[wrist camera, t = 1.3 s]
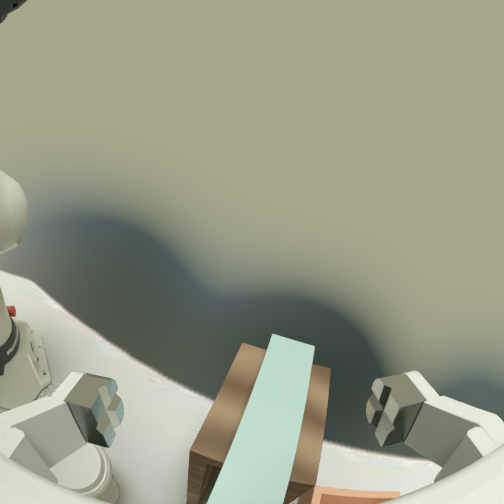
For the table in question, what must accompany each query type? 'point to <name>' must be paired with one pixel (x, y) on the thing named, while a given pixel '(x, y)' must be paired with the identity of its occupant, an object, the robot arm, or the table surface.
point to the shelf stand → (230, 415)
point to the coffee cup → (88, 473)
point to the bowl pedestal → (344, 496)
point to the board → (268, 429)
